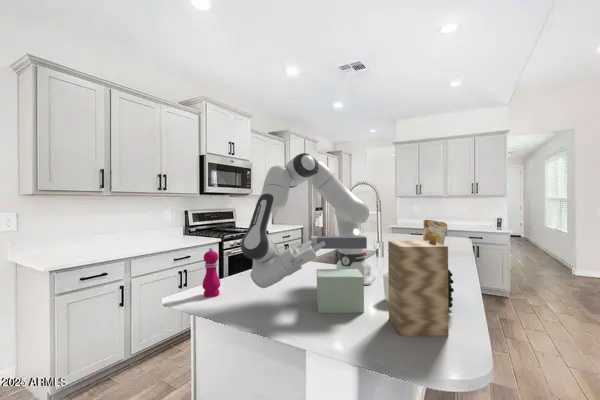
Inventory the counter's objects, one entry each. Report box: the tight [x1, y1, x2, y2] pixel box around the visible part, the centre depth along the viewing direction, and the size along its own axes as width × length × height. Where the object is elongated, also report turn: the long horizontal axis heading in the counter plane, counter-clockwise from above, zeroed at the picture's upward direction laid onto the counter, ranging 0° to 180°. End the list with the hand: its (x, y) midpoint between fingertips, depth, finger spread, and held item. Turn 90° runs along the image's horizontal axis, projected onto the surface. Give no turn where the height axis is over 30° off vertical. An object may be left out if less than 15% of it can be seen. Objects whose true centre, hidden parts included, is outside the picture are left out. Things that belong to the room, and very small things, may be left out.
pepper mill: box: [201, 247, 221, 298], centre depth 128 cm, size 7×7×20 cm
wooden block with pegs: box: [387, 235, 449, 337], centre depth 95 cm, size 14×12×28 cm
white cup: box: [382, 271, 389, 303], centre depth 119 cm, size 8×8×10 cm
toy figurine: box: [448, 269, 455, 308], centre depth 117 cm, size 9×19×25 cm
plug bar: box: [310, 235, 368, 250], centre depth 113 cm, size 20×4×4 cm, turn 89°
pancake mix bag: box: [422, 219, 448, 245], centre depth 155 cm, size 7×19×28 cm, turn 4°
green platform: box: [316, 268, 365, 314], centre depth 113 cm, size 16×12×12 cm
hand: (324, 241), depth 113 cm, fingers closed on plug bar, 4 cm apart
